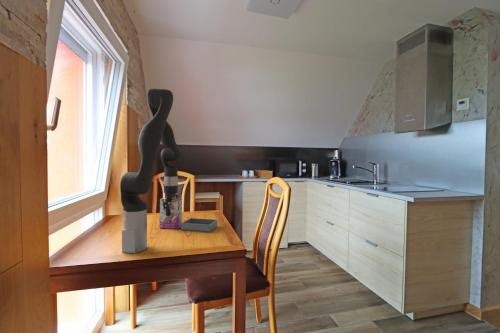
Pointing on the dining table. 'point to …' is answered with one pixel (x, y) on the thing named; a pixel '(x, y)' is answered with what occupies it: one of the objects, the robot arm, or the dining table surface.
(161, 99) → the robot arm
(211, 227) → the tray
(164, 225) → the candy bar box
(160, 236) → the dining table surface
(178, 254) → the dining table surface
